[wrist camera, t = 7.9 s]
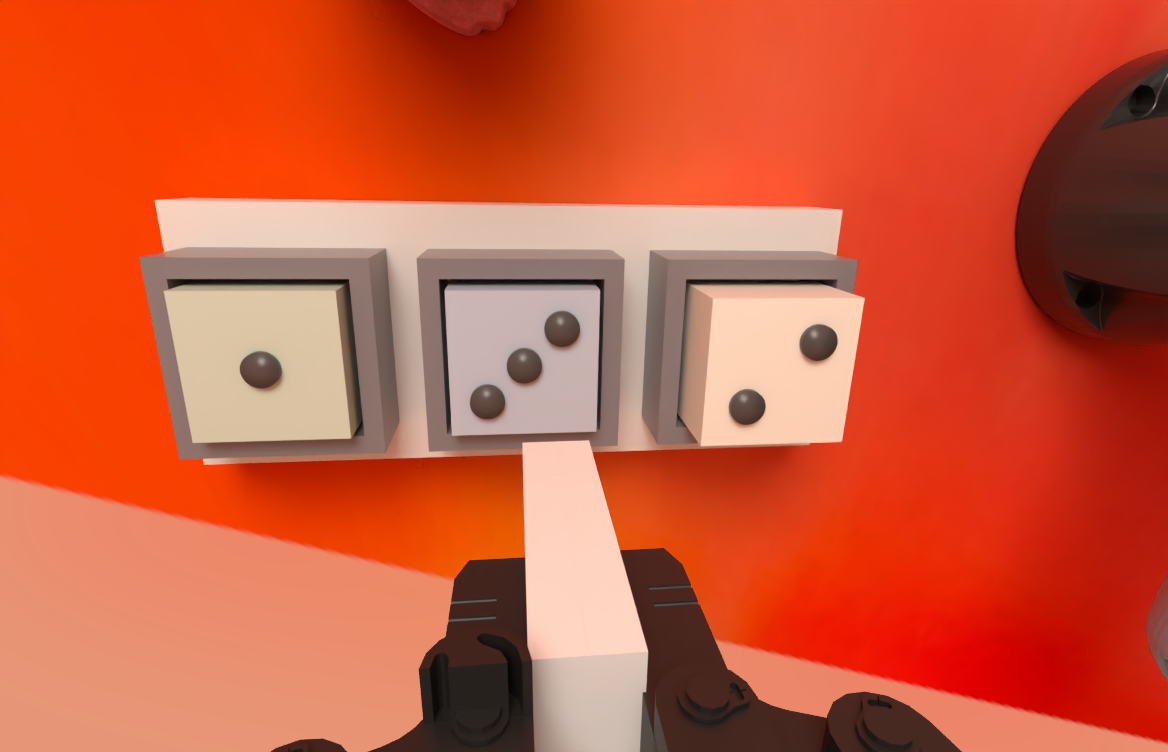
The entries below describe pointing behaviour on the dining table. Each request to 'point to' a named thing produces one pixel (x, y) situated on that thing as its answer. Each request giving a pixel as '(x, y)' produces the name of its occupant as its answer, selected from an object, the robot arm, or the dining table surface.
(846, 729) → the robot arm
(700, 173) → the dining table surface
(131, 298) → the dining table surface
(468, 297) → the button three dot
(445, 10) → the stacking bear
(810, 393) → the button two dot
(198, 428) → the button one dot
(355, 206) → the button panel
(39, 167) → the dining table surface
